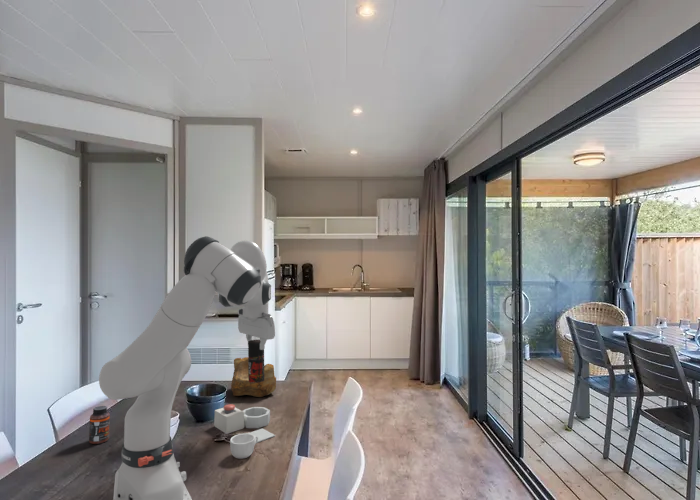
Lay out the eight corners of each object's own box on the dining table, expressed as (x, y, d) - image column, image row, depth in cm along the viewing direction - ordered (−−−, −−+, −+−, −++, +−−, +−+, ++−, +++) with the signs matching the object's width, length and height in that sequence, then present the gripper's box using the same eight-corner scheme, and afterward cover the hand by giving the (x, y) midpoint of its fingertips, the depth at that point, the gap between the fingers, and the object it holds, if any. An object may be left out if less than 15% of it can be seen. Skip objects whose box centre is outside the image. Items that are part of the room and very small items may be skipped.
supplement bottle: (99, 445, 139) (100, 411, 139) (84, 443, 140) (85, 410, 140) (113, 438, 144) (114, 405, 144) (98, 436, 146) (99, 403, 146)
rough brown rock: (215, 396, 190) (215, 364, 189) (242, 383, 204) (241, 353, 203) (254, 407, 179) (254, 373, 177) (279, 393, 193) (279, 361, 192)
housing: (274, 422, 159) (274, 407, 159) (231, 437, 146) (231, 420, 146) (256, 413, 168) (256, 398, 168) (214, 426, 155) (214, 410, 155)
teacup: (239, 464, 128) (240, 446, 128) (224, 456, 133) (225, 439, 133) (264, 452, 136) (265, 435, 136) (249, 445, 141) (250, 429, 141)
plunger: (236, 421, 155) (236, 406, 155) (226, 425, 152) (227, 409, 152) (231, 418, 157) (231, 403, 158) (221, 421, 155) (221, 406, 155)
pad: (275, 436, 148) (275, 435, 148) (255, 443, 142) (255, 442, 142) (262, 429, 153) (262, 428, 153) (243, 435, 148) (243, 434, 148)
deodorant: (245, 381, 158) (244, 342, 158) (255, 377, 164) (255, 338, 164) (257, 383, 156) (257, 343, 156) (267, 379, 161) (267, 340, 161)
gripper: (279, 313, 155) (278, 351, 155) (249, 308, 169) (248, 342, 169) (265, 315, 150) (264, 353, 150) (235, 309, 164) (234, 344, 164)
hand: (255, 347), depth 160 cm, fingers closed on deodorant, 6 cm apart
